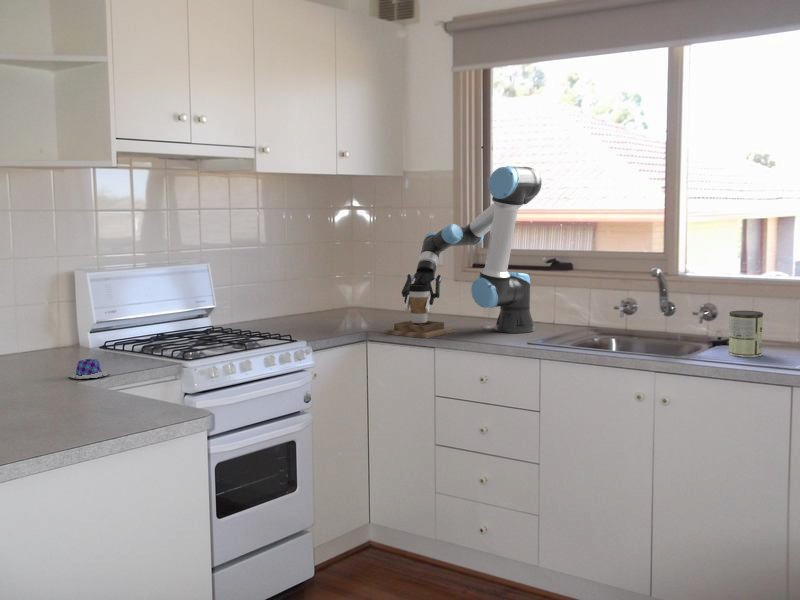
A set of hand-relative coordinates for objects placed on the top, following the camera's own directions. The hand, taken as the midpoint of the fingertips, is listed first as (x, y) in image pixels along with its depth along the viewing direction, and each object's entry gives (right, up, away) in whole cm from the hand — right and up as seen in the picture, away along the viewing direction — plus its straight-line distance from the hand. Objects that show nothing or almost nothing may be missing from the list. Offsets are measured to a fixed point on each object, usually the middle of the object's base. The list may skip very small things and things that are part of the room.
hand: (416, 310), depth 342 cm
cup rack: (+1, -9, +4) cm, 10 cm away
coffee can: (+107, -14, -51) cm, 120 cm away
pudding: (-100, -20, -75) cm, 127 cm away
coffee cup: (+1, -5, +4) cm, 6 cm away
